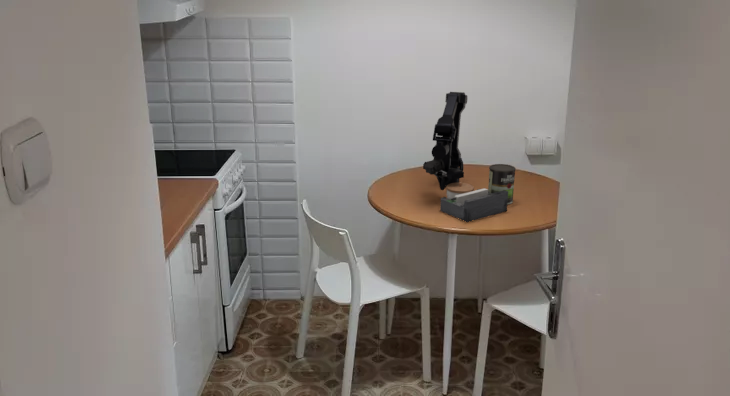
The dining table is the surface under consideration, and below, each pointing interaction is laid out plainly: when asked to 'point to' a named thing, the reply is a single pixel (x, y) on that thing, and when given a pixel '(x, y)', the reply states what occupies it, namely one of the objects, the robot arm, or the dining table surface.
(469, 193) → the grey flat bar
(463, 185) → the lidded jar
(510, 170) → the coffee can
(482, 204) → the box
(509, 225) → the dining table surface
